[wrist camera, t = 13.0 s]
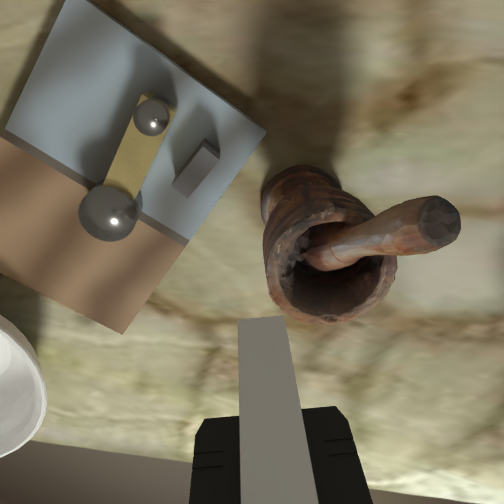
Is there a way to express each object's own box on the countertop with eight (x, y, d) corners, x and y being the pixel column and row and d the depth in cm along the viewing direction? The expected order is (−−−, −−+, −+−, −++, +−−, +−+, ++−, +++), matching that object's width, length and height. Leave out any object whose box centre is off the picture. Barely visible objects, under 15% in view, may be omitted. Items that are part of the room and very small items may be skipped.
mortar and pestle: (268, 113, 37) (306, 188, 19) (368, 127, 37) (496, 211, 19) (249, 240, 42) (265, 395, 24) (338, 249, 42) (418, 405, 24)
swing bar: (130, 235, 39) (121, 253, 35) (82, 212, 38) (68, 229, 34) (190, 111, 34) (186, 119, 31) (137, 82, 33) (127, 87, 30)
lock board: (265, 128, 37) (269, 140, 33) (125, 325, 45) (115, 354, 41) (77, -9, 32) (55, -16, 28) (-42, 239, 40) (-73, 262, 36)
